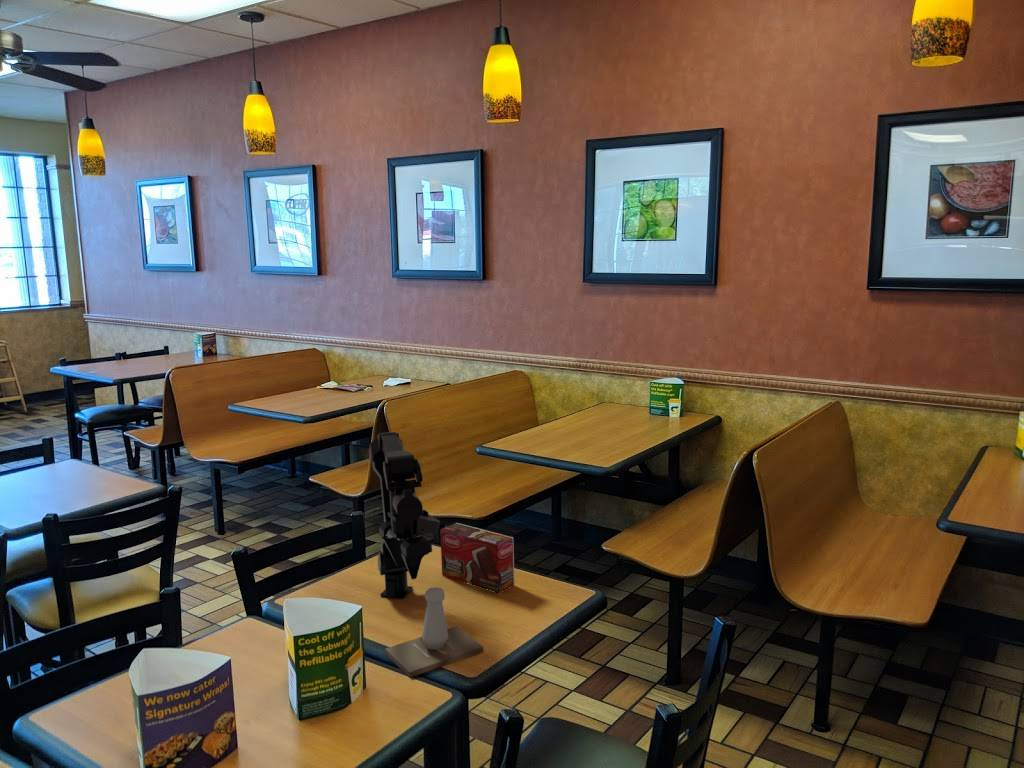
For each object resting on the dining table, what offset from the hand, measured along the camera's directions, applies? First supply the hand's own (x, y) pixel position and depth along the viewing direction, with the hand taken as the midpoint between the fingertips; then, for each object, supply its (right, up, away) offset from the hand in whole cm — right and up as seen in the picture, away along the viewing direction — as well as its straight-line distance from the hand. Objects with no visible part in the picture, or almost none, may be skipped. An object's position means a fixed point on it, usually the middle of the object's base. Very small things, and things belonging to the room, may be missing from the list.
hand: (406, 572), depth 183 cm
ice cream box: (+16, -9, +26) cm, 31 cm away
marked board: (+8, -15, -11) cm, 20 cm away
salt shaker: (+8, -14, -11) cm, 19 cm away
